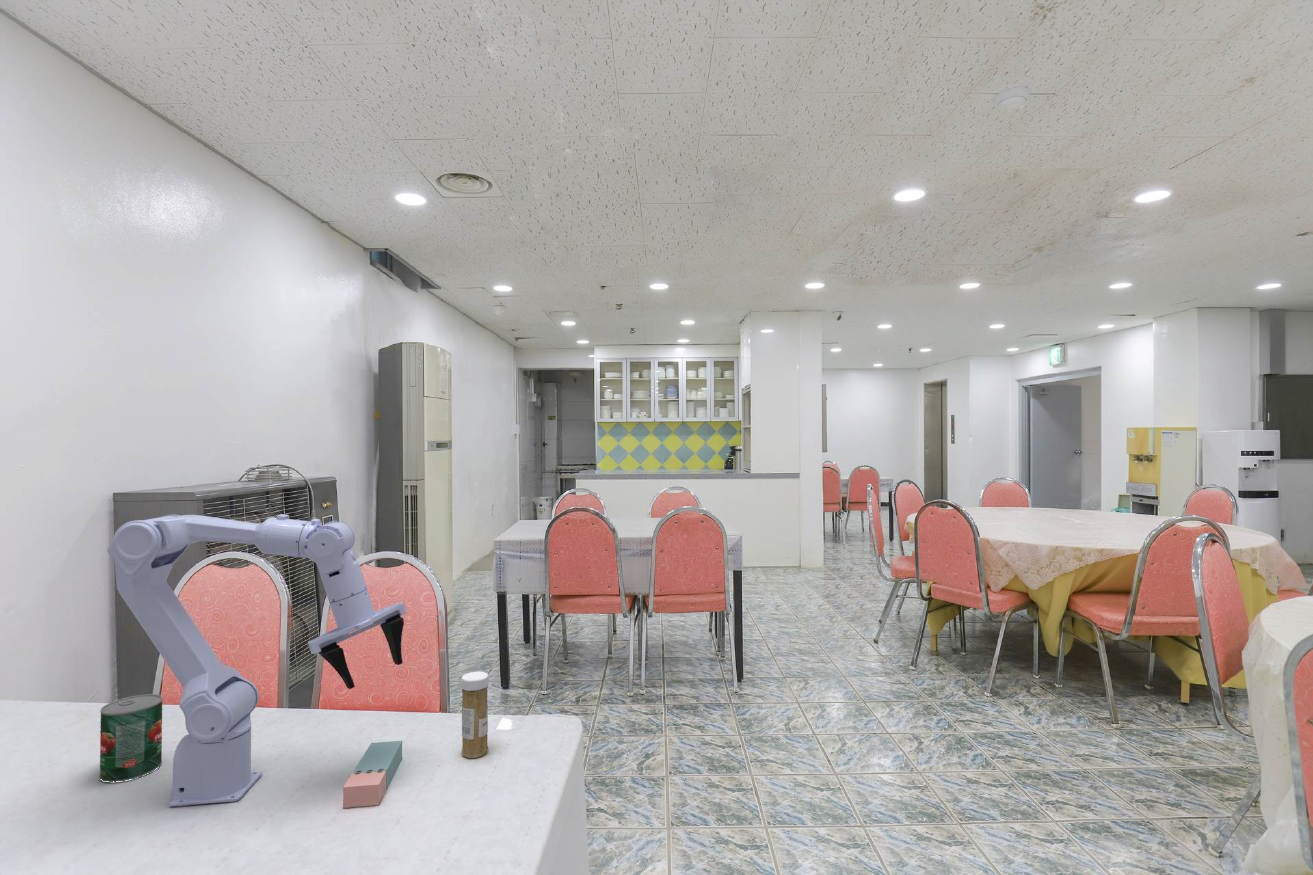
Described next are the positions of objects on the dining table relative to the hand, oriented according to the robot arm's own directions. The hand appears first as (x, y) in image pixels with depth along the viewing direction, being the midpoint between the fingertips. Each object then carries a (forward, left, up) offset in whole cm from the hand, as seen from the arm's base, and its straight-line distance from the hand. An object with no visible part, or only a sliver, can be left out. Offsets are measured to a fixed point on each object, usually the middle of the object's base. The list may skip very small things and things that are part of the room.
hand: (375, 675), depth 101 cm
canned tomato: (-40, +9, -17) cm, 44 cm away
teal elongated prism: (0, +1, -16) cm, 16 cm away
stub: (0, -6, -16) cm, 18 cm away
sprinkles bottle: (+15, +6, -17) cm, 23 cm away
